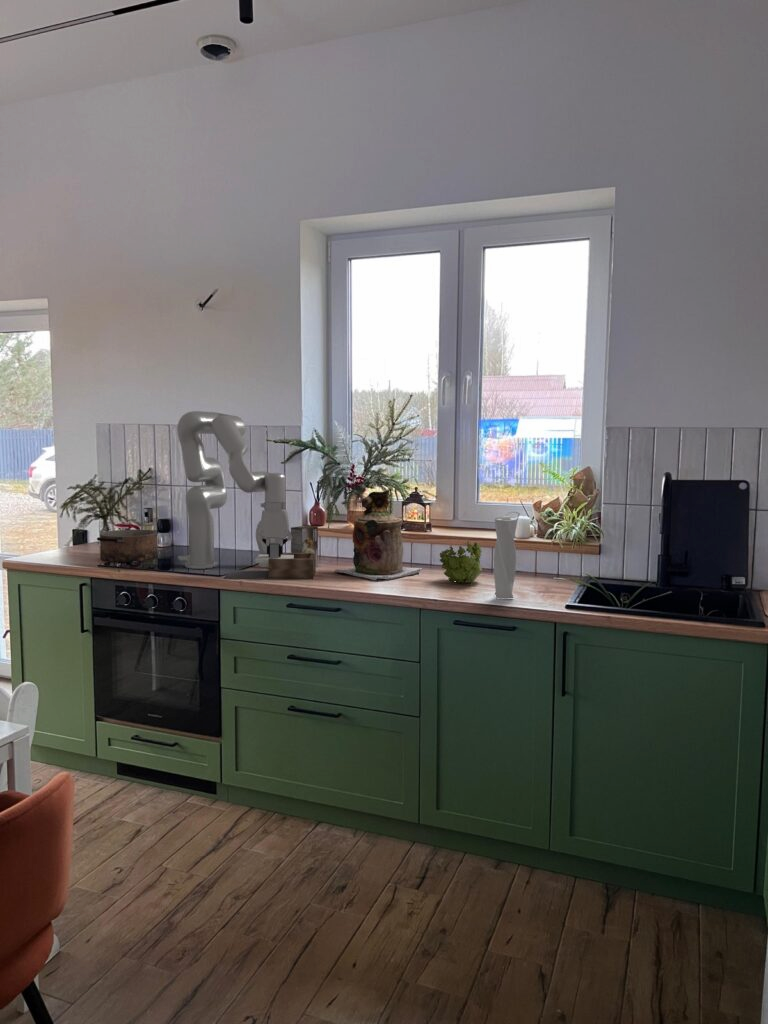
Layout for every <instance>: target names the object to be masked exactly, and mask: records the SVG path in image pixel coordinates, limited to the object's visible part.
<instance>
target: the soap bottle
mask: <svg viewBox="0 0 768 1024" xmlns="http://www.w3.org/2000/svg"><path fill="white" fill-rule="evenodd" d="M262 508H263V509H264V507H262ZM256 525H257V526H256V529H255V541H256V544H257V545H256V546H257V548H258V551H259V554H261V555H269V554H267V546H266V544H265V543H264V542H263V541H261V540H259V539H257V536H258V534H259V532H260V530H261V519H260V520H259V522H258V523H257V524H256ZM265 539H266V538H265ZM284 539H285V538H283V540H284ZM271 543H280V542H279V538H271V539H270V544H271ZM260 566H261V568H262V567H263V568H267V567H269V563H258V567H260Z"/></svg>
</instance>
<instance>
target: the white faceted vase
mask: <svg viewBox="0 0 768 1024" xmlns="http://www.w3.org/2000/svg"><path fill="white" fill-rule="evenodd" d="M511 514H517V517H516V519H514V518H512V516H509V515H511ZM520 514H521V513H520V512H518V511H510V512H508V513H506V514H505V516H504V515H503V516H499V517H495V518H494V526H495V534H496V540H495V545H494V552H493V579H494V580H493V581H494V587H495V592H494V594H495V595H496V597H497V598H514V594H513V588H514V583H515V578H516V569H517V548H516V547H517V546H516V543H515V542H516V541H515V536H516V530H517V525H518V522H519V521H518V519H519V518H520V517H519V516H520ZM496 597H495V598H496ZM497 598H496V599H497Z"/></svg>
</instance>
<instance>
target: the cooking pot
mask: <svg viewBox="0 0 768 1024" xmlns="http://www.w3.org/2000/svg"><path fill="white" fill-rule="evenodd" d="M158 534H159V530H155V529H118V530H117V529H116V530H108V531H107V530H106V531H102V532H100V533H99V537H97V538H96V540H97V541H99V543H100V544H99V546H100V547H99V548H100V550H99V551H100V560H101V561H103V562H107V563H114V562H132V563H134V562H133V561H143V562H146V561H145V560H149V561H152V560H151V559H153V560H156V559H157V558H158V551H159V550H158ZM155 558H156V559H155Z"/></svg>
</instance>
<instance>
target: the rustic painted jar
mask: <svg viewBox="0 0 768 1024" xmlns="http://www.w3.org/2000/svg"><path fill="white" fill-rule="evenodd" d="M389 495H390V489H386V490H384V491H372V492H369V494H368V495H367V496H364V497H363V498H362V499H361V505H362V507H363V508H364V511H363V514H362V515H360V516H358V517H357V519H355V521H353V530H352V543H353V560H352V562H353V565H354V566H353V567H351V568H347V569H334V573H336V572H339V574H347V575H350V576H354V577H359V578H363V579H369V580H372V581H376V580H377V579H384V580H392V579H395V578H400V577H405V576H410V575H416V574H415V573H421V571H422V569H423V568H422V567H405V566H403V558H404V557H403V556H404V546H403V535H402V530H401V529H402V528H401V526H402V525H403V523H404V522H403V521H404V520H403V519H402V518H400V517H395V516H394V515H393V514H391V513H390V512H389V511H388V507H389V504H390V503H391V502H390V500H389V499H390V498H389V497H390V496H389Z"/></svg>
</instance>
